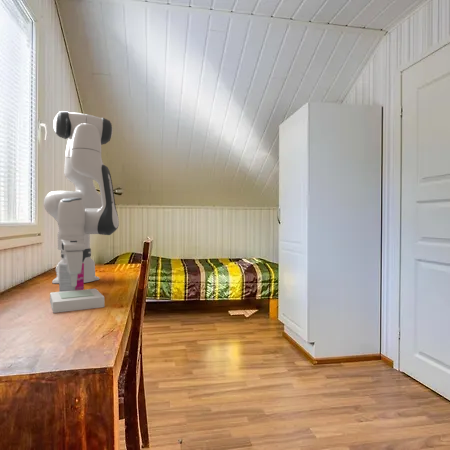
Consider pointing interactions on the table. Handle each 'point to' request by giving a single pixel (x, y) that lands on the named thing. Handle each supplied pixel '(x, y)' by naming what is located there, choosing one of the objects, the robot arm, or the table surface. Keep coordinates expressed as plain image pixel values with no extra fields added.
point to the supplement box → (66, 279)
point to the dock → (76, 300)
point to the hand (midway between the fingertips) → (72, 284)
